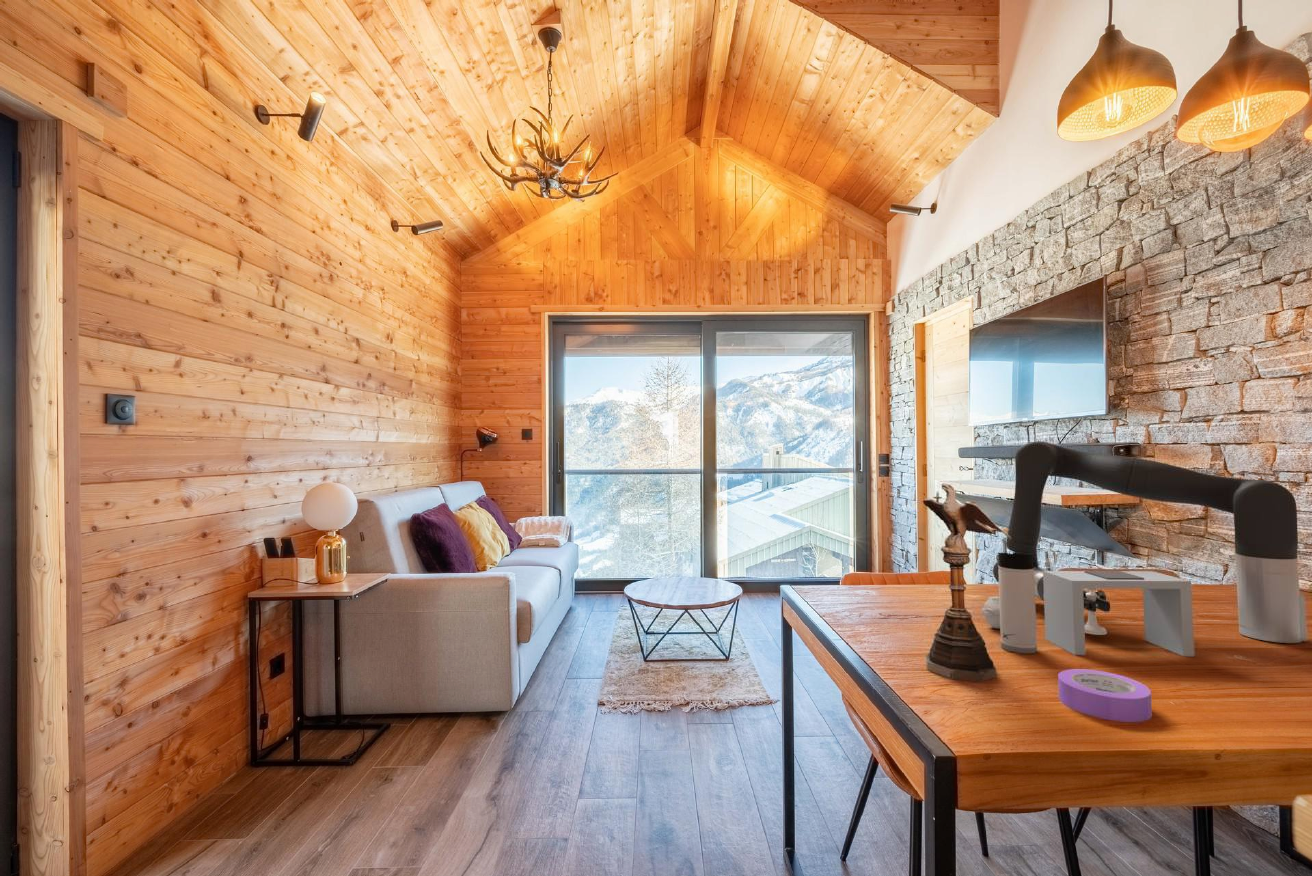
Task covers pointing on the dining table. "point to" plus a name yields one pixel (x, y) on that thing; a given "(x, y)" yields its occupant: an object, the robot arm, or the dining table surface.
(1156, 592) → the bridge
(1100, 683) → the masking tape
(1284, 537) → the robot arm
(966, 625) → the bird statue
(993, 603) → the frog figurine
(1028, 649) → the travel mug
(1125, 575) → the pad
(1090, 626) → the chess piece
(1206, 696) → the dining table surface
